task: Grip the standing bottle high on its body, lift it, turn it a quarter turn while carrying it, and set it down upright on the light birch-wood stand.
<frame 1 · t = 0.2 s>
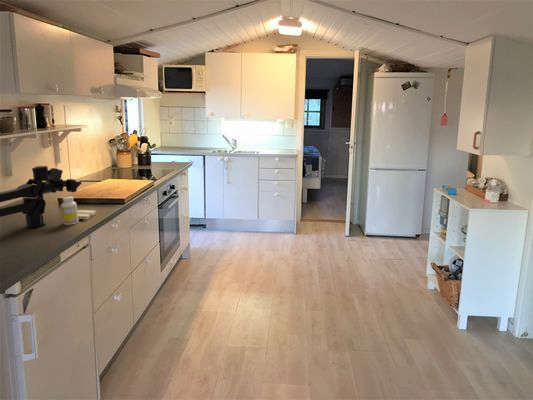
hand: (74, 182, 225), 16 cm above the worktop, tool horizontal, fingers open, 9 cm apart
birch stand: (82, 217, 220), on the worktop
supplement bottle: (71, 223, 210), on the worktop
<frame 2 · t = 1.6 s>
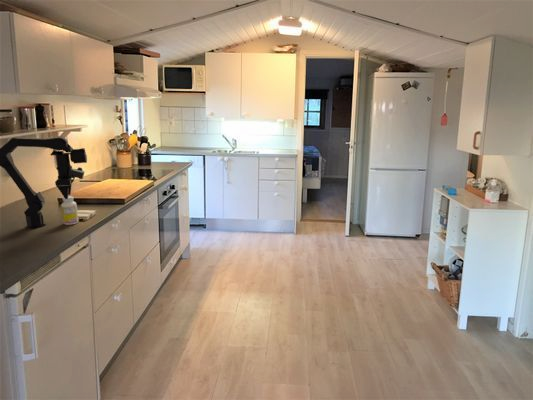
hand: (68, 196, 207), 13 cm above the worktop, tool pointing down, fingers open, 9 cm apart
nothing on the worktop moved.
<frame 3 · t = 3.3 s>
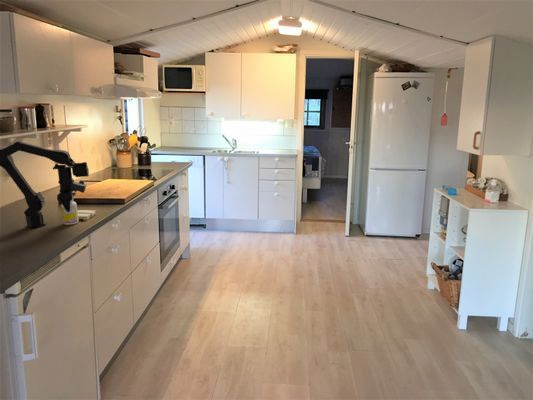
hand: (69, 210, 209), 7 cm above the worktop, tool pointing down, fingers closed on supplement bottle, 7 cm apart
supplement bottle: (71, 223, 210), on the worktop, touching gripper
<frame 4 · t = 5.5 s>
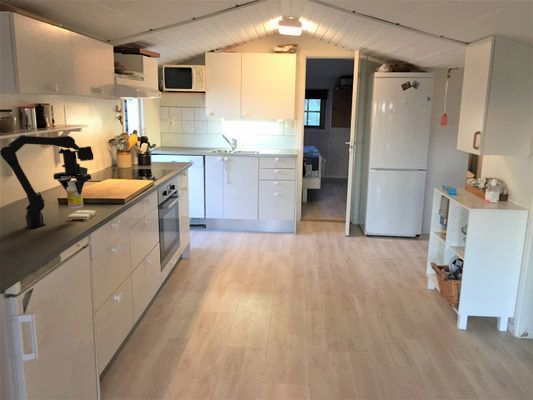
hand: (74, 194, 213), 13 cm above the worktop, tool pointing down, fingers closed on supplement bottle, 7 cm apart
supplement bottle: (76, 207, 214), point 6 cm above the worktop, touching gripper
when the fingers open (10 cm above the worktop, at t = 7.7 s): supplement bottle drops 1 cm, resting on birch stand.
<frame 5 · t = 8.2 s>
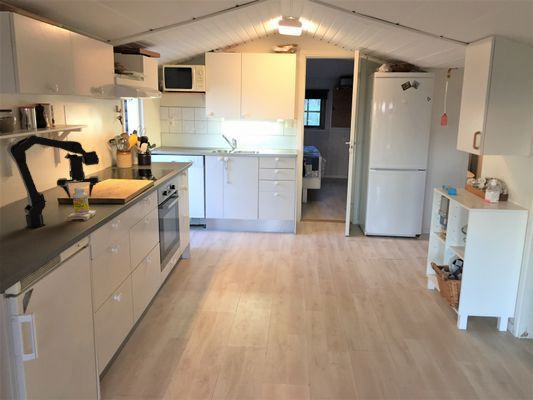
hand: (80, 197, 218), 10 cm above the worktop, tool pointing down, fingers open, 9 cm apart
supplement bottle: (82, 213, 220), point 2 cm above the worktop, touching birch stand
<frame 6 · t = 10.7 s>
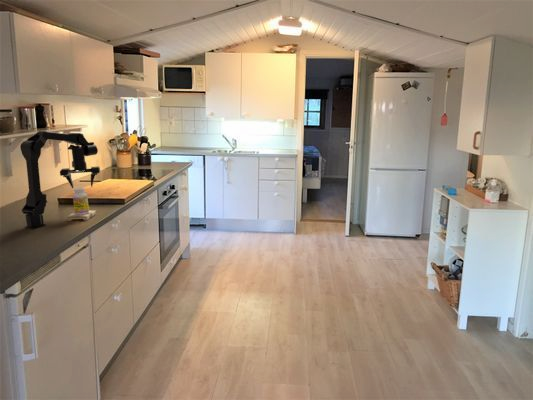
hand: (82, 187, 228), 13 cm above the worktop, tool pointing down, fingers open, 9 cm apart
nothing on the worktop moved.
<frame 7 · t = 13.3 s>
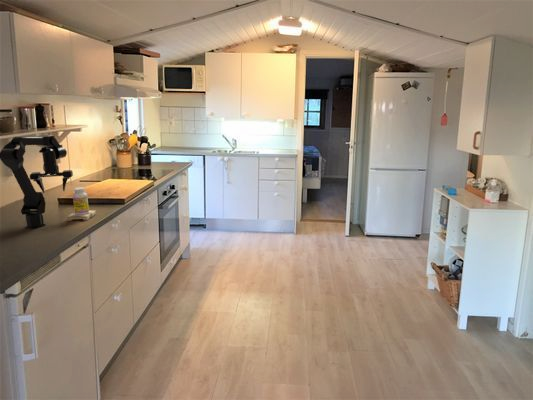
hand: (54, 191, 219), 13 cm above the worktop, tool pointing down, fingers open, 9 cm apart
nothing on the worktop moved.
at the end: supplement bottle inside the target area on the birch stand (0.0 cm from its centre), point 1.8 cm above the birch stand's base; supplement bottle tilted 0°; the gripper is holding nothing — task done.
